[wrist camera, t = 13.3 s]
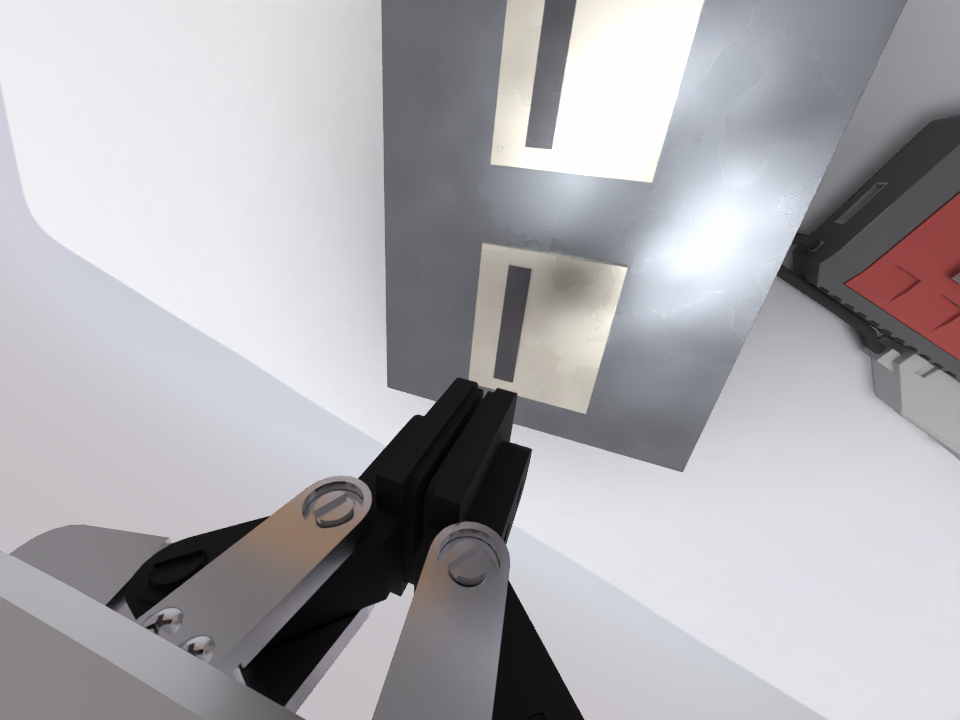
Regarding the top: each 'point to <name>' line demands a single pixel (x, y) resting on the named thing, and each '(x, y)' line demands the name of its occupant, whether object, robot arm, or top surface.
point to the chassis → (603, 195)
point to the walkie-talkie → (899, 277)
